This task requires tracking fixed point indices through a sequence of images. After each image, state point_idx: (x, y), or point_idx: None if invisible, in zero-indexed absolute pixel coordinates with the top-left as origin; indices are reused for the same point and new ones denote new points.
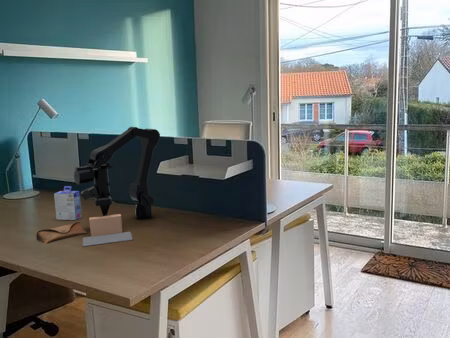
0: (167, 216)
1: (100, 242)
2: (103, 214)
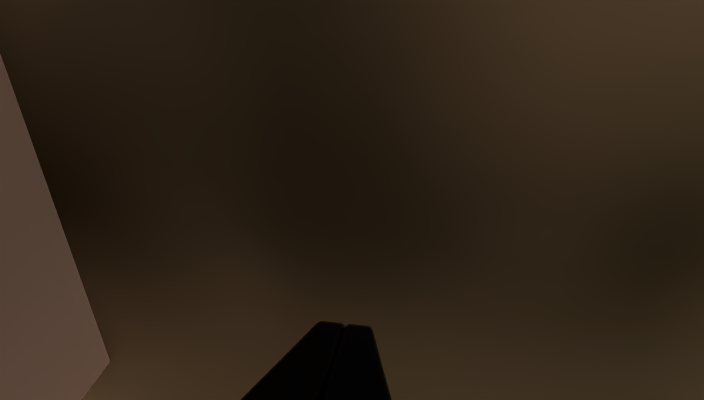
0: None
1: None
2: (270, 386)
